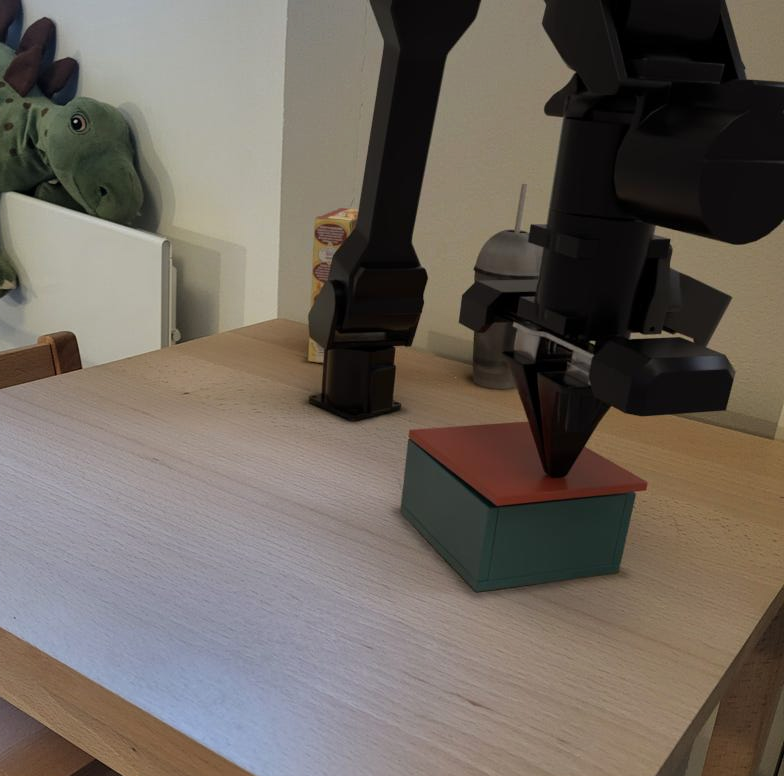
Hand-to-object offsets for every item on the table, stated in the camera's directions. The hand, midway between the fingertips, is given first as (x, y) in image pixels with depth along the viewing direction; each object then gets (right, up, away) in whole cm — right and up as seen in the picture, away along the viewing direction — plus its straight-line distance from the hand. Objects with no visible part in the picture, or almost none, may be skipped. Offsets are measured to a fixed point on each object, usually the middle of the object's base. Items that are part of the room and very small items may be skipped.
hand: (555, 475), depth 56 cm
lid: (-1, +1, +4) cm, 4 cm away
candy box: (-12, +14, +46) cm, 49 cm away
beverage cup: (+5, +10, +40) cm, 41 cm away
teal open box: (-2, -4, +6) cm, 8 cm away
